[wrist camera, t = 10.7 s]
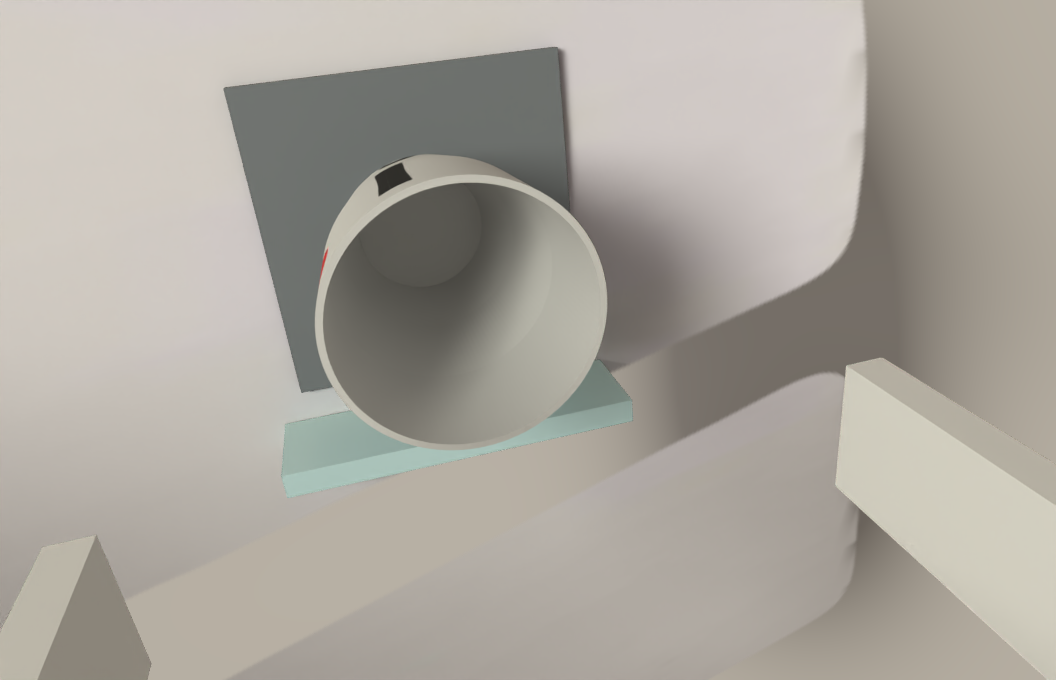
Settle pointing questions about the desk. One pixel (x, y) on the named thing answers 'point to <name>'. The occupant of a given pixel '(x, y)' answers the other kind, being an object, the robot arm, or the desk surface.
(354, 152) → the mat
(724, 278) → the desk surface
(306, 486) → the wall
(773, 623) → the desk surface
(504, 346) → the cup
